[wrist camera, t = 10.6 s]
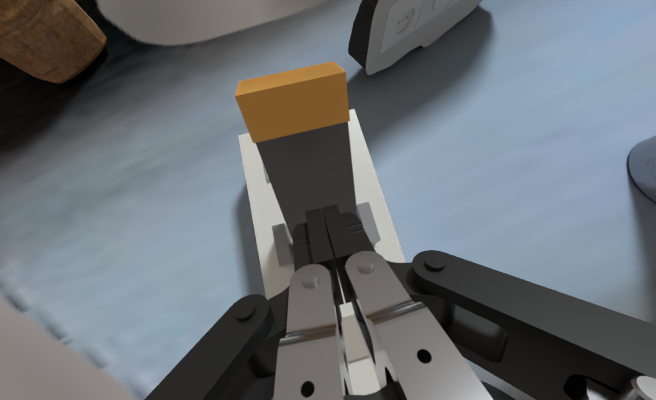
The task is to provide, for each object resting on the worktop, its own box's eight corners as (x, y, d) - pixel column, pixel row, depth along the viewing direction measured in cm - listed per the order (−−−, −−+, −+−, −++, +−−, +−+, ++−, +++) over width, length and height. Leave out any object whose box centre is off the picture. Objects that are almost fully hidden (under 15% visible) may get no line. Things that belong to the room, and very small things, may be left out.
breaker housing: (350, 139, 31) (356, 92, 23) (416, 348, 24) (458, 386, 16) (256, 161, 30) (228, 121, 22) (297, 382, 24) (279, 440, 16)
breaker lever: (353, 225, 22) (333, 61, 13) (362, 248, 20) (345, 71, 11) (296, 240, 22) (239, 81, 13) (299, 264, 20) (235, 96, 11)
